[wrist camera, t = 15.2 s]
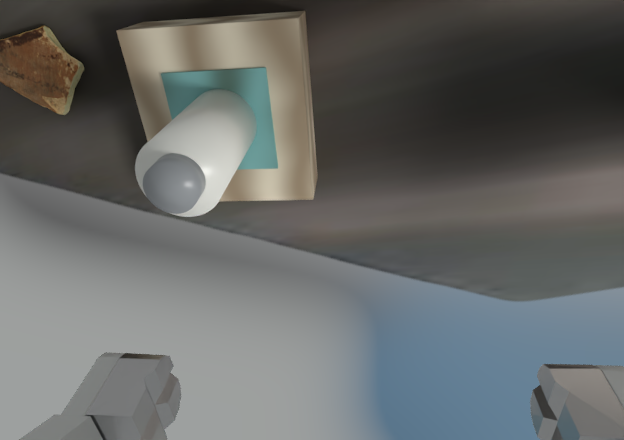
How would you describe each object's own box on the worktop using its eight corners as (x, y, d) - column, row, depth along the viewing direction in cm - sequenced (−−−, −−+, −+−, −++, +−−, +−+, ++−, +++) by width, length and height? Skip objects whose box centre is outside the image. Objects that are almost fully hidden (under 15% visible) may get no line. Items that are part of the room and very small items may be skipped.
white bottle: (251, 87, 37) (206, 143, 26) (261, 153, 40) (224, 228, 29) (183, 90, 37) (111, 146, 27) (197, 155, 40) (138, 229, 30)
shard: (-34, 52, 43) (-48, 56, 42) (-19, -21, 40) (-35, -19, 38) (70, 114, 46) (60, 120, 44) (93, 51, 42) (83, 55, 41)
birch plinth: (305, 10, 38) (297, 18, 33) (317, 176, 46) (312, 201, 42) (142, 22, 40) (114, 31, 35) (182, 180, 48) (163, 203, 44)
